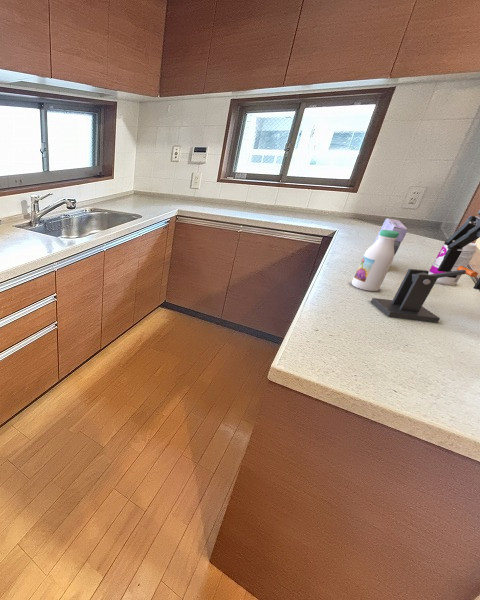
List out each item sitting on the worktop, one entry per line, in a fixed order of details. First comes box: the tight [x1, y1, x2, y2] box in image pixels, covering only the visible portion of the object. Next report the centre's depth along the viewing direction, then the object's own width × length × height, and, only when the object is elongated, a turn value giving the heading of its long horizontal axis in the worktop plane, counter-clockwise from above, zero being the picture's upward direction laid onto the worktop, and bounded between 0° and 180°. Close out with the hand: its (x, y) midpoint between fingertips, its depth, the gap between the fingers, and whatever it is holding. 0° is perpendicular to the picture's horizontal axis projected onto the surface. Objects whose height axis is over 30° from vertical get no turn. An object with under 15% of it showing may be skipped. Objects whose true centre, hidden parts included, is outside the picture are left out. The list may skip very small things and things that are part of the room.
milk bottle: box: [351, 230, 399, 292], centre depth 110 cm, size 8×8×20 cm
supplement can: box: [428, 242, 478, 286], centre depth 118 cm, size 8×8×15 cm
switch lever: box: [412, 266, 479, 282], centre depth 91 cm, size 12×5×2 cm, turn 75°
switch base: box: [370, 268, 441, 324], centre depth 95 cm, size 12×10×13 cm
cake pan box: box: [373, 217, 409, 257], centre depth 133 cm, size 19×5×18 cm, turn 147°
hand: (460, 279), depth 90 cm, fingers open, 13 cm apart
